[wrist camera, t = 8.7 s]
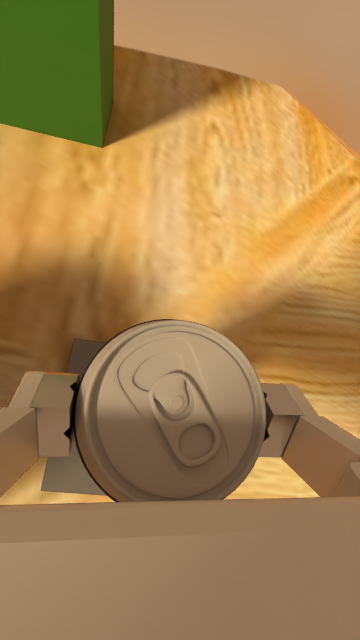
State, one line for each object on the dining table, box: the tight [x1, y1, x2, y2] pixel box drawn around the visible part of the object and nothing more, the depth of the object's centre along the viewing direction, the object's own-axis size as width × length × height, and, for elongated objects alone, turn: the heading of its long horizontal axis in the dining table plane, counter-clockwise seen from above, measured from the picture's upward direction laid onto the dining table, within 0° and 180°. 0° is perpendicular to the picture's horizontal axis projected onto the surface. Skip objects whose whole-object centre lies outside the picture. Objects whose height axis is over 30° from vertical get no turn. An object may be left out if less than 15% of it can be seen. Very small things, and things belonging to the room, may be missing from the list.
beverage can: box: [73, 319, 266, 502], centre depth 14 cm, size 6×6×12 cm
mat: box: [41, 339, 107, 496], centre depth 27 cm, size 12×13×1 cm
